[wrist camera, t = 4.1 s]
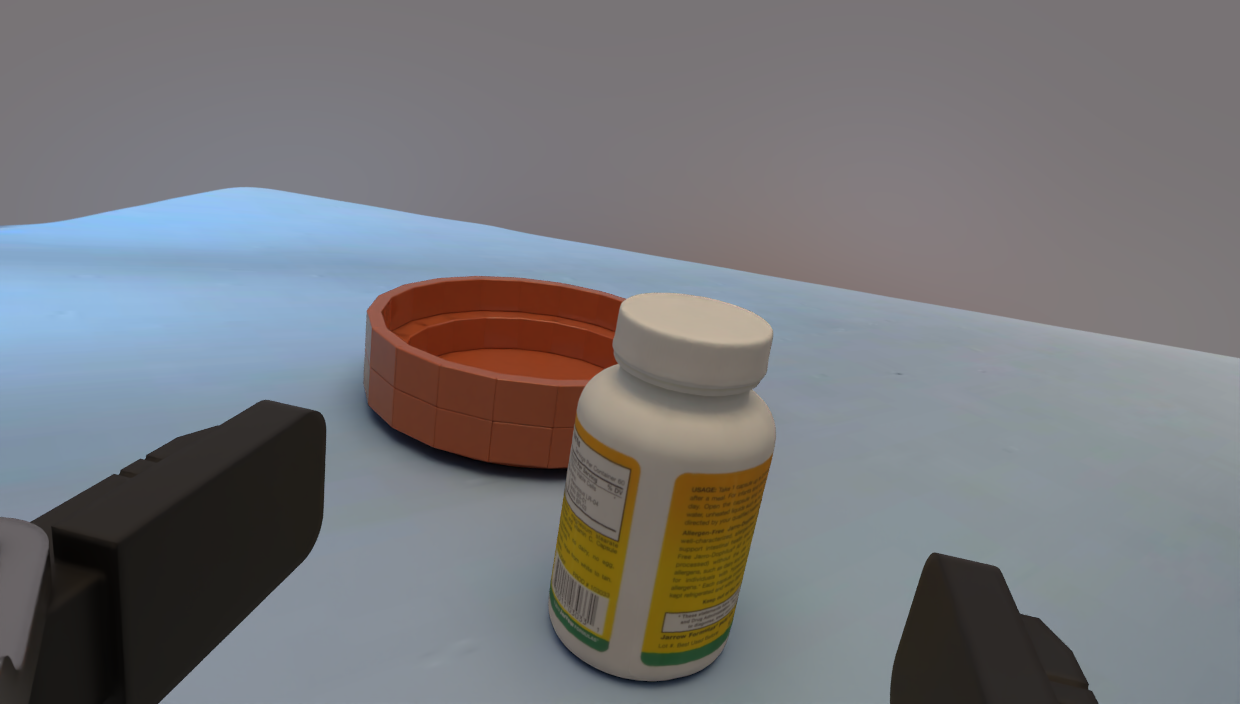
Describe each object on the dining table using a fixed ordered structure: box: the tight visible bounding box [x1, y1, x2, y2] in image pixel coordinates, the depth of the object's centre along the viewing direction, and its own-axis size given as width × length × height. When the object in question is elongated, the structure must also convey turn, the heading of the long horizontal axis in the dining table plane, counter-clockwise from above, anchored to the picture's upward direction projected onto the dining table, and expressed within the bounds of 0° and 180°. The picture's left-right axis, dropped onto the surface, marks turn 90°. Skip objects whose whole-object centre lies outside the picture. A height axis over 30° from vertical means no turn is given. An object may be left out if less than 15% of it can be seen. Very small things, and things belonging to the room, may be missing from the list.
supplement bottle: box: [548, 293, 776, 681], centre depth 23 cm, size 5×5×10 cm
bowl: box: [363, 276, 626, 469], centre depth 37 cm, size 14×14×4 cm
